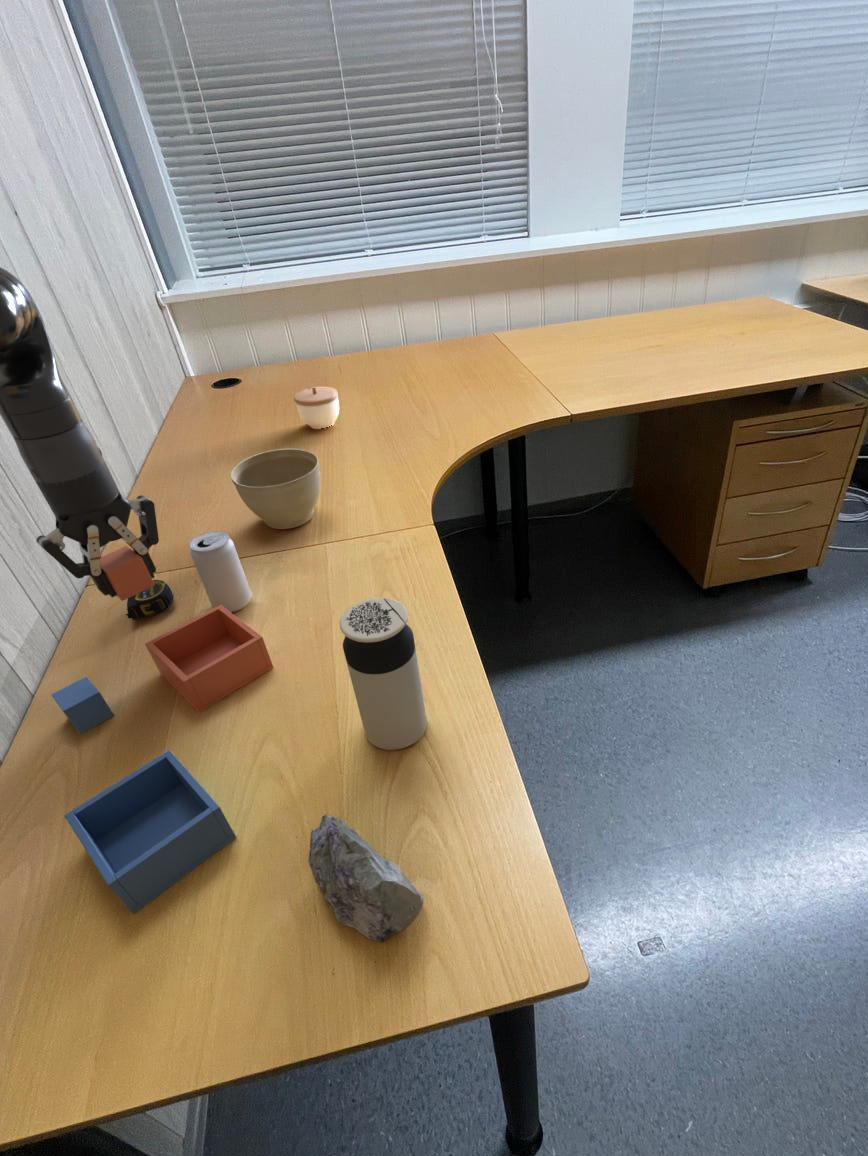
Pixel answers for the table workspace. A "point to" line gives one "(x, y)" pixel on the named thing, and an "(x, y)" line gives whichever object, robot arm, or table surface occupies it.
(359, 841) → the mineral rock
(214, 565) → the beverage can
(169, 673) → the terracotta bin
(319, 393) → the trinket box
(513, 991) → the table surface
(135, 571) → the terracotta block
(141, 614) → the tape measure
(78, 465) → the robot arm
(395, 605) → the travel mug
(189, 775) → the blue bin
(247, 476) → the planter bowl
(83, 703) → the blue block
